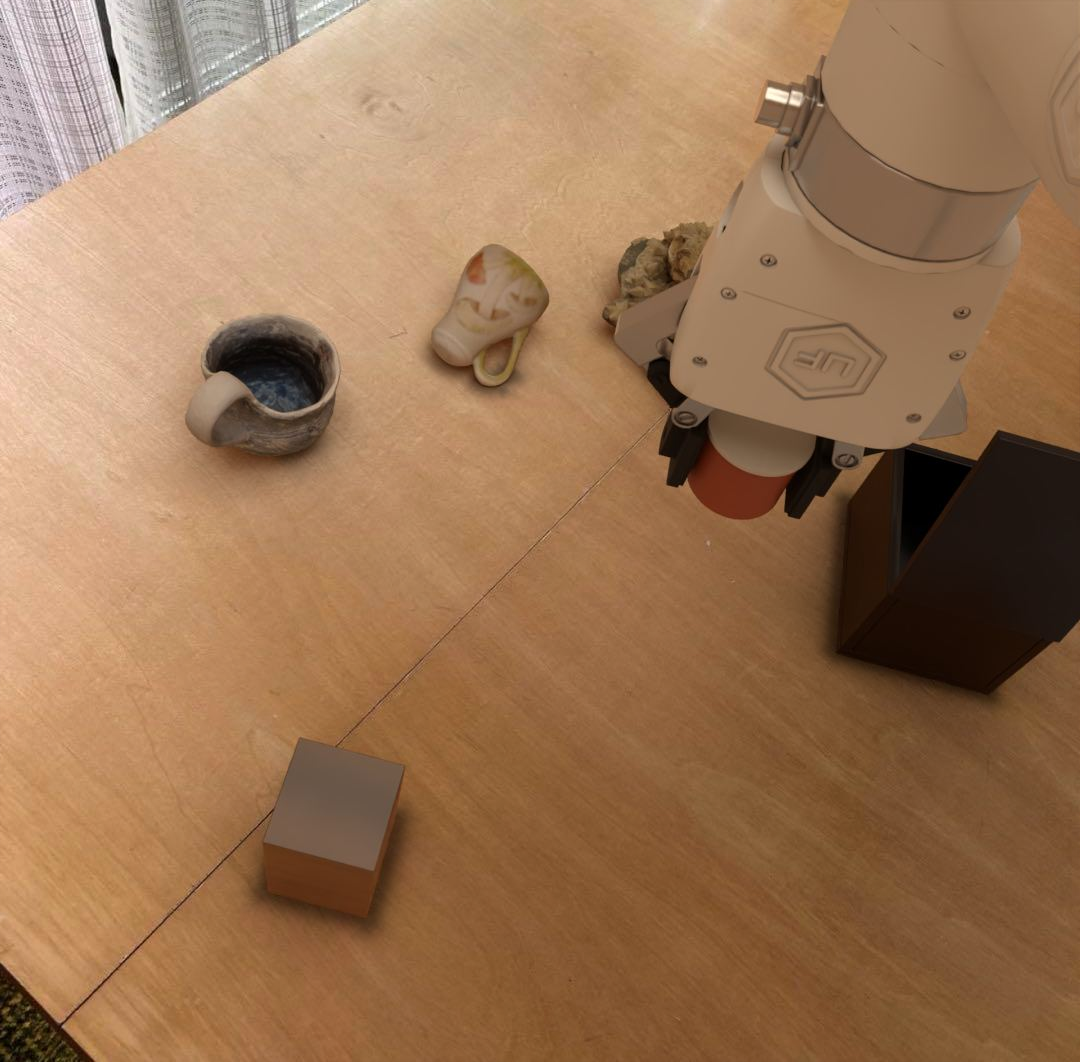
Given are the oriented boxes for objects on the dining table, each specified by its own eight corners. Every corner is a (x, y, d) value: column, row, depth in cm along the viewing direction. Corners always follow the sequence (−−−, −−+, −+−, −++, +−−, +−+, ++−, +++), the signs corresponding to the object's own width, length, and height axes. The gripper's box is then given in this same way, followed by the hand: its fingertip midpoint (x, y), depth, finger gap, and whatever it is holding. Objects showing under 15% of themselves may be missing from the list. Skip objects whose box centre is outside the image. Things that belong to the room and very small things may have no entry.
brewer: (847, 503, 91) (895, 436, 84) (988, 542, 91) (1047, 479, 84) (836, 653, 83) (887, 595, 76) (989, 695, 84) (1054, 641, 76)
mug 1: (360, 403, 88) (366, 313, 80) (284, 529, 81) (281, 445, 73) (244, 356, 88) (237, 262, 80) (159, 477, 82) (142, 388, 73)
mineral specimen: (557, 321, 96) (581, 232, 88) (654, 251, 102) (685, 162, 94) (690, 429, 92) (728, 347, 84) (782, 350, 98) (826, 267, 90)
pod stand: (366, 918, 68) (374, 871, 60) (267, 892, 68) (262, 842, 60) (394, 822, 72) (405, 765, 63) (300, 797, 71) (299, 736, 63)
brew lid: (997, 428, 65) (999, 438, 65) (1192, 483, 66) (1195, 493, 65) (889, 587, 76) (890, 596, 75) (1057, 633, 76) (1059, 643, 76)
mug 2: (400, 355, 91) (429, 232, 87) (477, 344, 99) (508, 230, 95) (470, 395, 88) (504, 270, 84) (544, 380, 96) (579, 265, 91)
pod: (780, 535, 51) (813, 485, 48) (675, 508, 51) (701, 456, 48) (787, 451, 54) (819, 398, 50) (688, 425, 54) (713, 370, 50)
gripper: (637, 162, 35) (537, 496, 50) (1176, 308, 35) (914, 593, 50) (669, 18, 39) (567, 368, 54) (1150, 151, 39) (915, 459, 55)
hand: (736, 474), depth 52 cm, fingers closed on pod, 4 cm apart
